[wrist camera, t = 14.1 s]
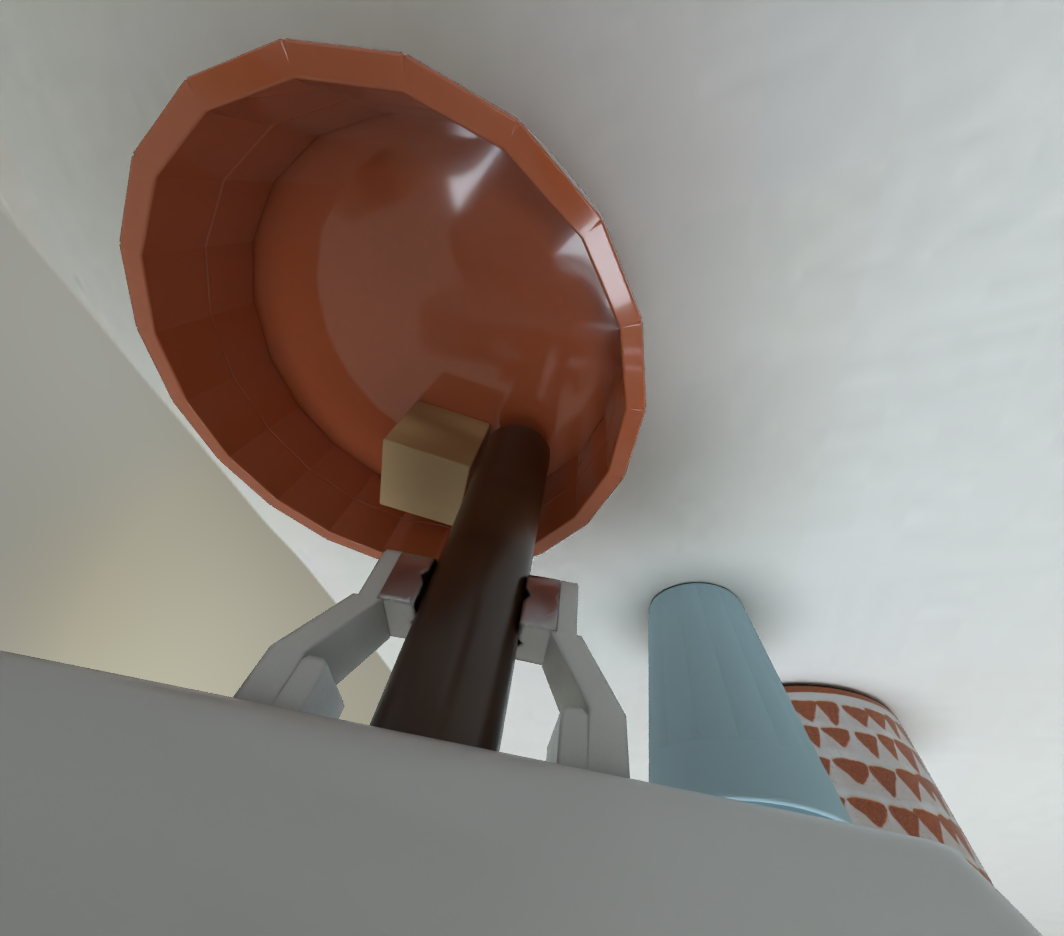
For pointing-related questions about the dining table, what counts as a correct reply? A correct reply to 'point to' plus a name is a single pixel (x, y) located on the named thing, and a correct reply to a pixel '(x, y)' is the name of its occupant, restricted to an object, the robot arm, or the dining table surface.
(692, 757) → the cup
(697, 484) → the dining table surface
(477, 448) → the block
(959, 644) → the dining table surface
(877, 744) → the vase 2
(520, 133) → the bowl
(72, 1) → the dining table surface
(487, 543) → the dark brown cylinder
